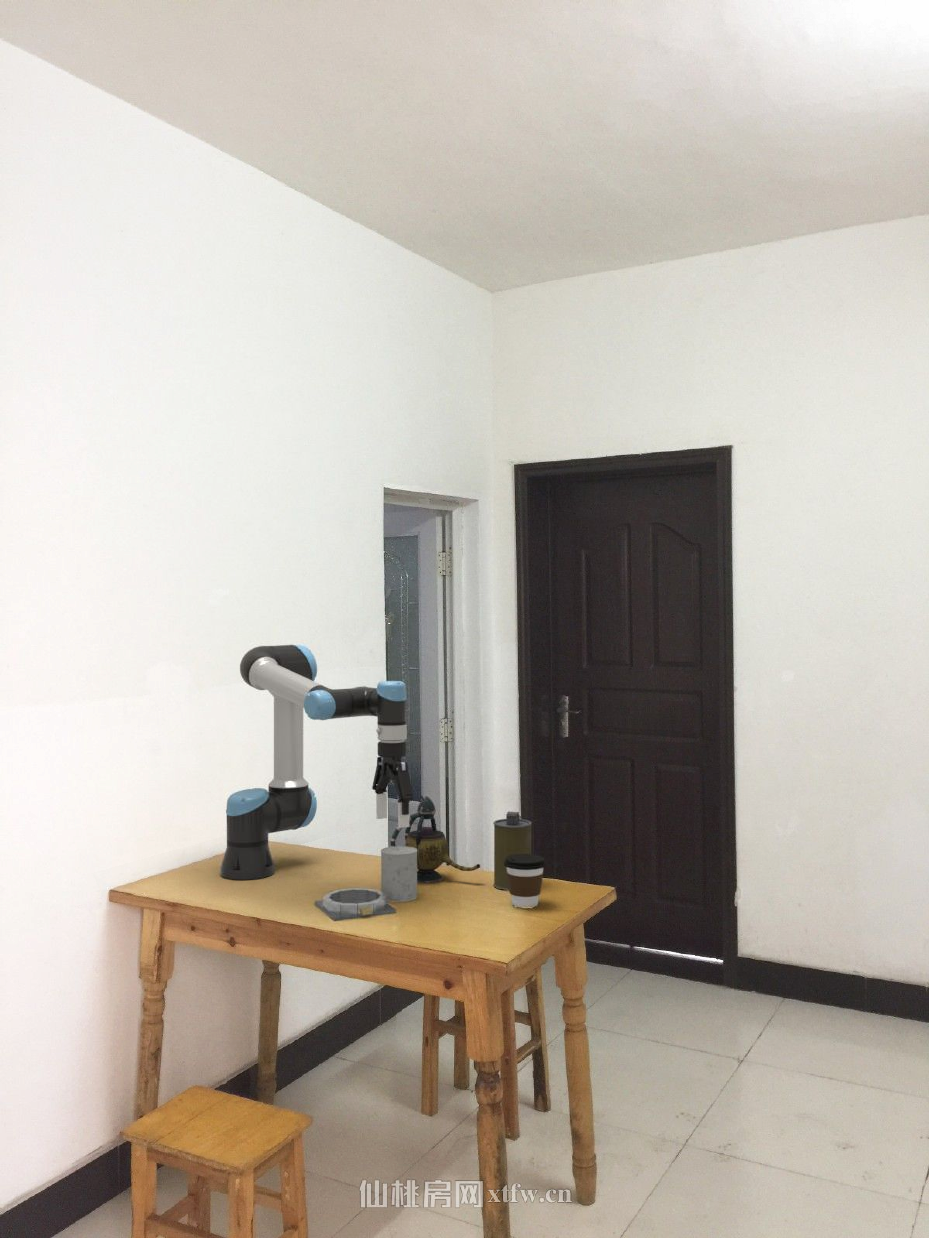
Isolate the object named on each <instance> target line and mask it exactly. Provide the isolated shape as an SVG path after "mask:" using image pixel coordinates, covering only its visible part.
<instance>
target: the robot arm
mask: <svg viewBox="0 0 929 1238" xmlns="http://www.w3.org/2000/svg"><path fill="white" fill-rule="evenodd" d="M239 673H240V677H241V678H242V681H244V682H245V683H246V684H247V685H248V686H250V687H251V688H254V689H256V690H258V691H268V692H269V693H270V695H272V697H273V779H272V780H271V781H270V782H269V783H268V788H267V789H268V790H267V789H266V788H260V787H254V788H246V789H243V790H238V791H236V792H233V793H231V794H230V795H229V797H228V798H227V802H226V807H225V808H226V810H225V814H226V849H225V851H224V855H223V858H222V861H221V864H220V876H221V877H222V878H225V879H228V880H242V881H243V880H244V881H245V880H257V879H262V878H268V877H271V876H273V875H274V874H275V870H276V869H275V868H276V867H275V861H274V859H273V855H272V852H271V850H270V846H269V834H273V833H279V832H285V831H291V830H292V831H294V830H298V829H300V828H305V827H307V826H308V825H310V824H311V822H312V821H313V820H314V819H315V816H316V813H317V808H318V807H317V805H318V802H317V796H315V795H316V794H315V792H314V790H313V789H312V788H311V787H309V782H308V781H307V780H306V779H305V778H304V713H305V714H306V715H307V717H308V719H310V720H314V721H315V720H316V721H317V720H318V721H327V720H334V719H342V718H343V719H344V718H356V717H377V728H376V730H375V731H376V733H377V739H378V742H377V756H378V757H377V756H376V768H375V773H374V775H373V777H374V778H373V783H372V786H371V789H372V790H373V791H374V792H375V794H376V802H375V803H376V808H375V809H376V820H380V819H387V818H388V797H387V796H388V790H387V788H388V786H389V783H390V781H391V780H392V781H393V783H394V787H395V789H396V792H397V796H398V800H397V805H398V806H397V807H398V808H397V809H398V810H397V813H398V814H397V815H398V819H397V821H398V822H397V823H398V824H397V825H398V826H397V827H398V828H402V829H403V828H405V829H406V827H409V816H410V803H411V801H414V800H415V799H414V793H413V792H414V791H413V788H412V782H411V779H410V778H411V777H410V773H409V765H408V764H409V763H408V762H407V761H402V758H403V757H406V756H407V754H408V752H407V749H408V748H407V746H408V745H407V742H406V740H407V735H408V734H407V731H408V730H407V727H408V725H407V698H408V696H407V687H406V686H407V685H406V683H405V682H404V681H400V680H385V681H378V682H377V684H376V685H377V686H376V687H368V686H366V685H365V686H354V687H352V688H335V689H332V688H330V687H327V686H325V685H323V684H320V683H318V682H316V681H315V680H316V677H317V674H318V666H317V660H316V658H315V655H314V654H313V652H312V650H311V649H309V648H308V647H307V646H305V645H300V644H298V645H297V644H285V645H283V644H282V645H279V644H278V645H260V646H256V647H253V648H250V649H249V650H248V651H247V652H246V653H245V654H244V655H243V656H242V659H241V661H240V664H239Z"/></svg>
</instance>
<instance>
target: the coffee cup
mask: <svg viewBox="0 0 929 1238" xmlns="http://www.w3.org/2000/svg"><path fill="white" fill-rule="evenodd" d="M504 866H506V868H507V879H508V885H509V891H508V892H509V894H510V899H511V904H512V906H513V905H514V906H516V907H535V906H536V907H537V906H538V904H539V901H540V900H539V899H540V895H541V892H542V891H541V889H542V884H543V877H544V868H546V867H547V861H545V857H543V856H542V855H539V854H532V853H531V854H515V855H510V856H508V857H506V859H505V861H504ZM514 906H513V907H514ZM516 907H515V908H516ZM536 907H535V908H536Z"/></svg>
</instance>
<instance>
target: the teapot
mask: <svg viewBox="0 0 929 1238" xmlns="http://www.w3.org/2000/svg"><path fill="white" fill-rule="evenodd" d="M420 799H421V800H420V802H419V804H418V807H417V811H416V813H413V814H409V827H405V830H404V839H405V840H404V841H405V844H404V846H408V847H414V848H416V849H417V884H434V883H439V882H441V881H442V880H443V879H444V878H443V875H441V873H439V872H438V871H436V869H438V868H440V867H441V866H442V865H443V864H447V865H450V866H451V867H453V868H455V869H457V870H459V871H461V872H472V871H475V870H479V869H481V864H479V863H477V864H475V865H474V866H470V867H469V866H463V865H460V864H458V863H456V862H454V861H453V859H451V858H450V856H449V855H448V853H449V852H448V851H449V846H448V845H449V844H448V839H447V838H446V836H445V833H444V832H443V831H441V830H437V829H438V828H437V824H436V818H435V814H436V806H435V804H434V802H433V801H432V799H431V798H430V797H428V796H427V795H425V796H423V795H420ZM417 819H418V824H417V826H416V827H417V828H416V830H412V831H411V829H412V826H413V823H414V822H415V821H416V820H417ZM424 820H430V823H431V824H430V826H427V825H426V826H423V823H424ZM402 829H403V828H398V826H397V827H396V828H395V829H394V831H393V833H392V835H391V839H390V847H392V846H396V840H397V837H398V835H399V834H400V832H401V831H402Z"/></svg>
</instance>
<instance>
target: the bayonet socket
mask: <svg viewBox="0 0 929 1238" xmlns="http://www.w3.org/2000/svg"><path fill="white" fill-rule="evenodd" d="M314 905H315V906H316V907H317V908H319V909H320V910H321V911H322V912H323V913H325V914H326V915H327V916H328V917H329V918H330V919H332V920H333V921H334V922H336V921H344V920H351V919H353V920H354V919H358V918H359V919H360V918H367V917H375V916H380V915H389V914H396V913H397V909H396V908H395V907H394V906H392V905H390V904H389V903H388V901H387V895H386V894H385V893H383V892H382V891H381V890H379V889H373V888H366V887H365V888H362V887H361V888H360V887H357V888H356V887H352V888H343V889H336V890H334V891H330V892H326V893H325V894H324V896H323V897H322V899H321V900H320V899H319V900H314Z"/></svg>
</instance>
